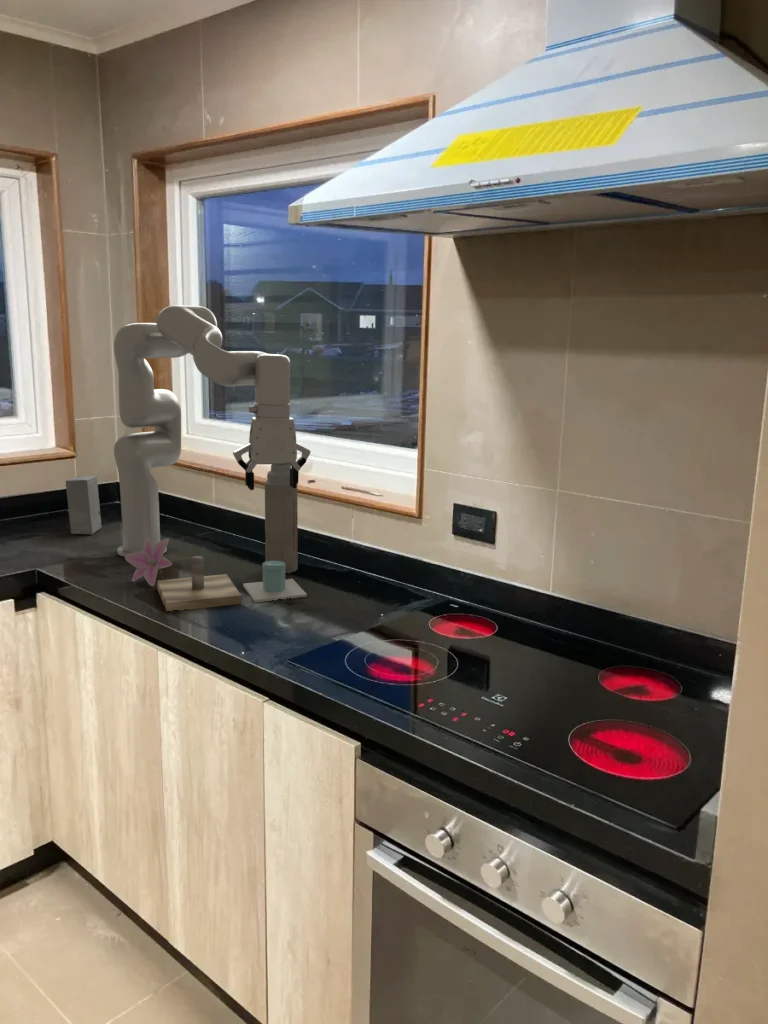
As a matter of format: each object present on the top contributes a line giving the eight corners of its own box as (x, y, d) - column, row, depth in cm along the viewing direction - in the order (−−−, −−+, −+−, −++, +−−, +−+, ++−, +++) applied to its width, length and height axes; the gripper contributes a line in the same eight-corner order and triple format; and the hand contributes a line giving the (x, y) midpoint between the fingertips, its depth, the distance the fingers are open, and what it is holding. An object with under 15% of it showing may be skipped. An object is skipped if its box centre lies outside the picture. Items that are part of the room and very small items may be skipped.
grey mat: (242, 586, 193) (242, 583, 193) (292, 581, 197) (292, 578, 197) (254, 602, 182) (254, 599, 182) (306, 596, 186) (306, 594, 186)
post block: (157, 588, 189) (155, 551, 187) (226, 582, 195) (225, 545, 193) (166, 611, 175) (165, 571, 173) (241, 603, 181) (240, 564, 179)
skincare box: (92, 535, 234) (89, 480, 230) (67, 534, 234) (63, 479, 230) (103, 527, 242) (99, 474, 238) (78, 527, 242) (75, 474, 238)
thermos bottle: (301, 566, 209) (301, 457, 203) (292, 575, 202) (291, 462, 195) (271, 563, 211) (270, 455, 204) (261, 572, 203) (259, 460, 197)
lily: (124, 578, 200) (112, 550, 194) (166, 553, 205) (156, 525, 199) (148, 604, 193) (136, 576, 186) (191, 578, 198) (181, 550, 192)
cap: (265, 593, 186) (265, 568, 185) (260, 586, 191) (260, 561, 189) (288, 591, 188) (287, 566, 187) (282, 584, 193) (281, 559, 191)
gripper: (236, 414, 174) (237, 493, 178) (315, 413, 180) (314, 489, 184) (229, 409, 180) (230, 486, 184) (305, 409, 187) (304, 483, 191)
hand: (272, 488), depth 184 cm, fingers open, 9 cm apart
